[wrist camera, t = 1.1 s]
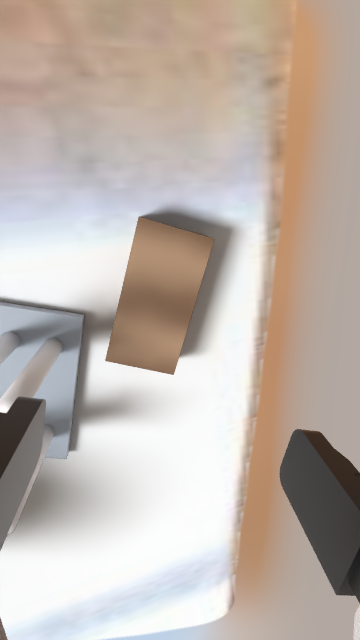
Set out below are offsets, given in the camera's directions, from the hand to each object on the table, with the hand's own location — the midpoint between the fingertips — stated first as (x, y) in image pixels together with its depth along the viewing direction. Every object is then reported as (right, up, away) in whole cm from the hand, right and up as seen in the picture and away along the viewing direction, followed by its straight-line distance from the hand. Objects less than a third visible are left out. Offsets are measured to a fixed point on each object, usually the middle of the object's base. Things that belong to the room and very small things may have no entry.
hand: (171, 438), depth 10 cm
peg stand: (-14, -2, +20) cm, 25 cm away
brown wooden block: (-2, +6, +19) cm, 20 cm away
